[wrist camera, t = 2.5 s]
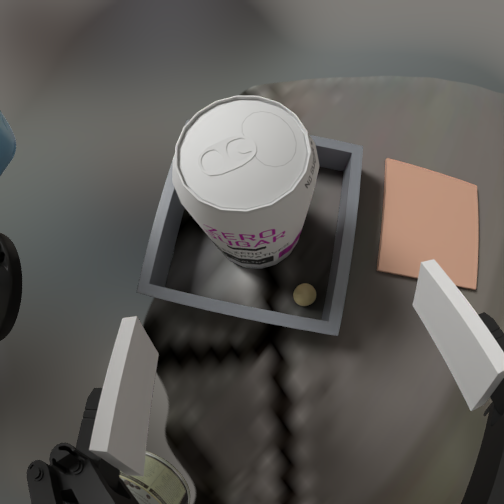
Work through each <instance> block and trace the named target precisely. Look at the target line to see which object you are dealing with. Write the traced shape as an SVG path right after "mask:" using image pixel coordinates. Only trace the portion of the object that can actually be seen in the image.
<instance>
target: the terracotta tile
mask: <svg viewBox="0 0 504 504" xmlns="http://www.w3.org/2000/svg"><path fill="white" fill-rule="evenodd" d="M432 259H434V260H435V261H436V262H437V263H438V264H439V266H440V267H441V268H442V269H443V270H444V272H445V273H446V274H447V275H448V277H449V278H450V279H451V280H452V282H453V283H454V284H455V285H456V287H461V288H466V289H471V290H475V289H476V283H477V268H478V197H477V186H476V185H474V184H471V183H468V182H465V181H462V180H459V179H456V178H453V177H450V176H447V175H444V174H441V173H438V172H435V171H432V170H428V169H425V168H422V167H418V166H415V165H411V164H408V163H404V162H401V161H397V160H393V159H389V158H387V159H386V160H385V182H384V198H383V212H382V224H381V234H380V244H379V253H378V261H377V269H376V271H380V272H385V273H390V274H395V275H400V276H405V277H411V278H416V279H418V276H419V271H420V265H421V262H424V261H428V260H432Z"/></svg>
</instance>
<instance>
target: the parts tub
mask: <svg viewBox="0 0 504 504" xmlns="http://www.w3.org/2000/svg"><path fill="white" fill-rule="evenodd" d="M189 121H190V120H187V121H186V124H187V123H188V122H189ZM186 124H185V125H186ZM310 136H311V138H312V139H313V141H314V142H315V145H316V150H317V155H318V160H319V165H320V166H319V167H325V168H329V169H334V170H339V171H344V172H343V182H342V190H341V199H340V207H339V215H338V222H337V229H336V236H335V243H334V250H333V256H332V262H331V269H330V275H329V280H328V286H327V292H326V297H325V303H324V308H323V313H322V318H321V320H317V319H311V318H305V317H300V316H295V315H289V314H284V313H279V312H274V311H269V310H264V309H259V308H254V307H249V306H244V305H239V304H235V303H230V302H225V301H221V300H216V299H212V298H207V297H203V296H198V295H194V294H190V293H185V292H181V291H177V290H173V289H169V288H165V285H166V280H167V276H168V272H169V267H170V263H171V259H172V255H173V251H174V247H175V243H176V239H177V235H178V231H179V227H180V223H181V219H182V216H183V212H184V208H185V207H184V206H183V205H182V204H181V202H180V199H179V197H178V194H177V192H176V190H175V187H174V185H173V182H172V169H173V161H172V164H171V167H170V170H169V173H168V176H167V179H166V183H165V186H164V189H163V192H162V196H161V199H160V203H159V206H158V209H157V213H156V216H155V220H154V223H153V227H152V231H151V235H150V238H149V242H148V246H147V250H146V254H145V258H144V262H143V266H142V270H141V274H140V279H139V283H138V288H137V293H140V294H144V295H148V296H151V297H155V298H159V299H163V300H167V301H171V302H175V303H179V304H183V305H187V306H191V307H195V308H200V309H204V310H208V311H213V312H217V313H221V314H226V315H231V316H235V317H240V318H244V319H249V320H254V321H259V322H264V323H269V324H274V325H279V326H284V327H290V328H295V329H300V330H306V331H312V332H317V333H323V334H329V335H335V336H338V334H339V329H340V324H341V319H342V313H343V308H344V302H345V297H346V291H347V285H348V279H349V272H350V266H351V259H352V252H353V244H354V237H355V229H356V220H357V211H358V202H359V191H360V180H361V168H362V153H363V146H360V145H355V144H351V143H346V142H342V141H337V140H332V139H327V138H322V137H317V136H312V135H310ZM293 298H294V301H295V302H296V303H297V304H298V305H300V306H308V305H310V304H312V303H313V302H314V301H315V299H316V291H315V289H314V287H313V286H312V285H310V284H307V283H303V284H300V285H299V286H297V287H296V289H295V290H294V293H293Z"/></svg>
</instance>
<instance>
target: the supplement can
mask: <svg viewBox="0 0 504 504" xmlns="http://www.w3.org/2000/svg"><path fill="white" fill-rule="evenodd" d="M319 166H320V165H319V160H318V155H317V150H316V145H315V142H314V141H313V139H312V138H311V136H310V135H309V133H308V132H307V130H306V129H305V127H304V125H303V124H302V123H301V121H300V120H299V118H298V117H297V115H296V114H295V113H293V112H292V111H290V110H289V109H288V108H286V107H285V106H283V105H282V104H281V103H279V102H276V101H273V100H270V99H267V98H264V97H261V96H233V97H230V98H225V99H222V100H218V101H215V102H213V103H212V104H210V105H208V106H207V107H205V108H203V109H202V110H200V111H198V112H197V113H196V114H195V115H194V116H193V117H192V119H191V120H190V121H189V122H188V123H187V124H186V125H185V126H184V127H183V130H182V132H181V134H180V137H179V139H178V141H177V144H176V147H175V155H174V157H173V169H172V182H173V185H174V187H175V190H176V192H177V194H178V197H179V199H180V202H181V204H182V205H183V206H184V207H185V209H186V210H187V211H188V212H189V213H190V215H191V216H192V217H193V218H194V220H195V221H196V222H197V223H198V224H199V226H200V227H201V228H202V229H203V230H204V232H205V233H206V234H207V235H208V237H209V238H210V239H211V240H212V241H213V243H214V244H215V245H216V246H217V247H218V249H219V250H220V251H221V252H222V253H223V254H224V255H225V256H226V257H227V258H228V259H229V260H230V261H232V262H234V263H236V264H238V265H240V266H243V267H245V268H257V269H262V268H266V267H269V266H273V265H276V264H278V263H279V262H280V261H282V260H283V259H285V258H286V257H287V256H289V255H290V253H291V252H292V250H293V249H294V247H295V246H296V244H297V243H298V240H299V237H300V234H301V231H302V228H303V224H304V221H305V218H306V215H307V212H308V209H309V205H310V202H311V199H312V196H313V192H314V189H315V185H316V180H317V175H318V171H319Z"/></svg>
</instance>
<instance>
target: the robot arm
mask: <svg viewBox="0 0 504 504" xmlns="http://www.w3.org/2000/svg"><path fill="white" fill-rule="evenodd" d="M15 151H16V140H15V137H14V134H13V132H12V129H11V128H10V126H9V124H8V122H7V121H6V119H5V117H4V116H3V114H2V113H1V111H0V176H1V175H2V173H3V172H4V170H5V169H6V167H7V166H8V164H9V163H10V162H11V160H12V159H13V156H14V154H15ZM21 295H22V271H21V264H20V259H19V256H18V253H17V250H16V248H15V246H14V244H13V242H12V241H11V240H10V239H9V238H8V237H7V236H6V235H4V234H2V233H0V341H1V340H2V339H4V338H5V337H6V336H7V335H8V334H9V332H10V331H11V329H12V327H13V326H14V323H15V321H16V318H17V315H18V312H19V307H20V303H21ZM413 307H414V309H415V310H416V312H417V314H418V315H419V317H420V318H421V320H422V322H423V323H424V325H425V327H426V329H427V330H428V332H429V334H430V335H431V337H432V339H433V341H434V342H435V344H436V346H437V348H438V349H439V351H440V353H441V355H442V356H443V358H444V360H445V362H446V364H447V366H448V367H449V369H450V371H451V373H452V375H453V377H454V379H455V381H456V383H457V385H458V386H459V388H460V390H461V392H462V394H463V396H464V398H465V400H466V402H467V405H468V407H469V409H470V411H473V410H475V409H477V408H479V407H480V406H482V405H484V404H485V403H486V402H487V401H488V399H489V398H490V397H491V399H492V401H493V402H492V403H491V405H490V406H489V407H488V408H487V409H486V411H485V413H484V416H486V415H487V413H488V412H489V416H488V420H487V424H486V429H485V433H484V437H483V440H482V444H481V448H480V451H479V455H478V458H477V461H476V464H475V467H474V470H473V473H472V476H471V479H470V482H469V485H468V487H467V490H466V493H465V495H464V498H463V500H462V503H461V504H504V333H503V332H502V330H501V329H500V327H499V326H498V325H497V323H496V322H495V320H494V319H493V318H492V317H490V316H489V315H487V314H486V313H485V312H484V313H481V314H479V315H478V314H477V313H476V311H475V310H474V309H473V307H472V306H471V305H470V303H469V302H468V301H467V299H466V298H465V297H464V296H463V294H462V293H461V292H460V290H459V289H458V288H457V287H456V285H455V284H454V283H453V282H452V280H451V279H450V278H449V277H448V275H447V274H446V273H445V272H444V270H443V269H442V268H441V267H440V266H439V264H438V263H437V262H436V261H435V260H434V259H432V260H428V261H424V262H421V265H420V271H419V276H418V281H417V287H416V292H415V296H414V301H413ZM158 356H159V353H158V352H157V350H156V348H155V347H154V345H153V343H152V342H151V340H150V338H149V336H148V335H147V333H146V331H145V329H144V328H143V326H142V324H141V322H140V321H139V319H138V317H137V316H133V317H126V318H122V321H121V325H120V328H119V332H118V335H117V338H116V341H115V345H114V348H113V351H112V355H111V359H110V362H109V366H108V369H107V373H106V377H105V381H104V385H103V388H94V389H93V391H92V392H91V394H90V395H89V397H88V399H87V403H86V407H85V411H84V415H83V420H82V423H81V427H80V432H79V436H78V440H77V445H76V448H75V447H73V446H72V445H70V444H68V443H60V444H58V445H56V446H55V447H54V449H53V450H52V452H51V454H50V465H48V464H46V463H45V462H43V461H41V460H36V461H34V462H32V463H31V464H30V465H29V467H28V470H27V481H28V487H29V492H30V498H31V502H32V504H139V502H138V501H137V500H136V498H135V497H134V496H133V494H132V493H131V492H130V490H129V489H128V487H127V486H126V484H125V483H124V482H123V480H122V479H121V478H120V477H119V475H120V471H121V472H123V473H124V474H126V475H131V476H144V466H145V455H146V445H147V436H148V427H149V419H150V411H151V403H152V396H153V387H154V382H155V375H156V368H157V362H158Z"/></svg>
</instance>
